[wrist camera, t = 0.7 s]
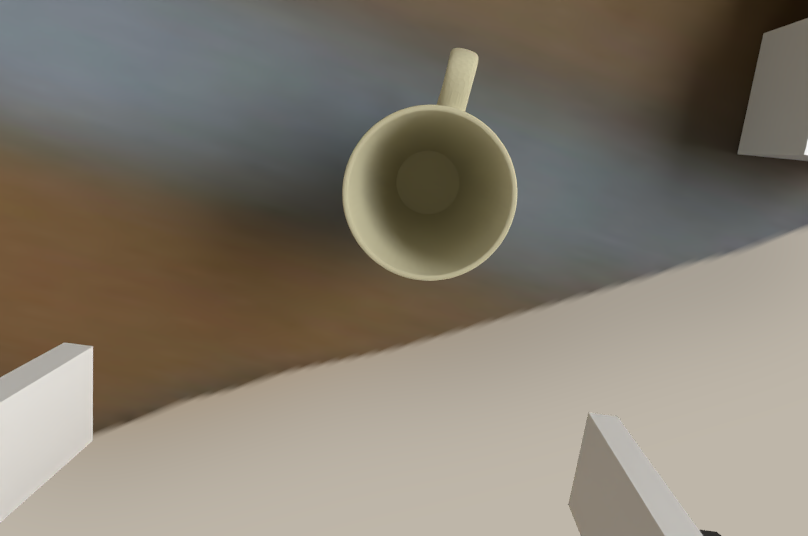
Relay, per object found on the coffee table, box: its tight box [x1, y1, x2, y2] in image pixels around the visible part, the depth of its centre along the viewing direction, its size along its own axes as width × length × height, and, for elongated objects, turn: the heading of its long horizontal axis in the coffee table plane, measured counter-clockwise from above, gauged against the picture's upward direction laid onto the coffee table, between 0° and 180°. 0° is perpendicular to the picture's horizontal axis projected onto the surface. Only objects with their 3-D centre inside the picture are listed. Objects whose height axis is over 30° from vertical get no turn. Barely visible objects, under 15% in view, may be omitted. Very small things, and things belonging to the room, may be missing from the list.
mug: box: [342, 48, 517, 281], centre depth 34 cm, size 11×10×12 cm
